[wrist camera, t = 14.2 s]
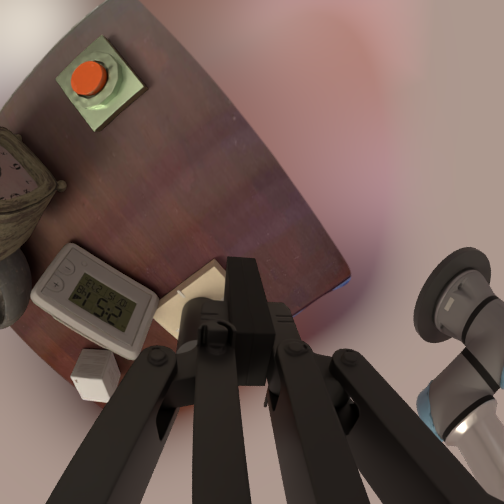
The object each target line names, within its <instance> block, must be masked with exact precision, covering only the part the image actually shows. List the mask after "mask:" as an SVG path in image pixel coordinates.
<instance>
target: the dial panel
mask: <svg viewBox="0 0 504 504" xmlns="http://www.w3.org/2000/svg"><path fill="white" fill-rule="evenodd" d="M225 277H226V271H225V270H224V269H223V268H222V266H221V265H220V264H219V263H218V262H217V261H216V260H215V259H213V260H212V261H210V262H209V263H208V264H206V265H205V266H204V267H202V268H201V269H200V270H198V271H197V272H196V273H194V274H193V275H192V276H190V277H189V278H188V279H186V280H185V281H184V282H183V283H181V284H180V285H179V286H177V287H176V288H175V289H173V290H172V291H171V292H169V293H168V294H167V295H165V296H164V297H163V298H162V299H160V300H159V304H158V306H157V309H156V312H155V314H154V317H153V318H154V319H155V320H156V321H157V322H158V323H159V324H160V325H161V326H163V327H164V328H165V329H166V330H167V331H168V332H169V333H170V334H172V335H173V336H174V337H175V338H176V339H177V340H178V335H179V328H180V321H181V314H182V309H183V306H184V305H185V304H186V303H187V302H188V301H189V300H191V299H193V298H197V297H205V298H209V299H212V300H219V301H224V289H225Z"/></svg>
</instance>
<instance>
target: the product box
mask: <svg viewBox="0 0 504 504" xmlns="http://www.w3.org/2000/svg"><path fill="white" fill-rule="evenodd" d="M71 378H72V380H73V382H74V384H75V386H76V388H77V390H78V391H79V394H80V395H81V397H82V399H83V400H90V401H98V402H108V401H109V399H110V398H111V396H112V395H113V393H114V392H115V390H116V389H117V385H118V382H119V378H120V371H119V368H118V366H117V363H116V360H115V357H114V355H113V352H112V351H111V350H96V349H82V351H81V354H80V356H79V358H78V360H77V363H76V365H75V367H74V370H73V372H72V374H71Z"/></svg>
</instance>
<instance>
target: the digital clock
mask: <svg viewBox="0 0 504 504" xmlns="http://www.w3.org/2000/svg"><path fill="white" fill-rule="evenodd" d="M30 296H31V299H32V301H33V302H34V303H35V304H36V305H37V306H39V307H40V308H41V309H43V310H44V311H46V312H47V313H49V314H50V315H52V316H53V318H54V319H56V320H58V321H59V322H61V323H62V324H64V325H65V326H67V327H69V328H70V329H72V330H73V331H75V332H77V333H78V334H80V335H82V336H83V337H85V338H87V339H89V340H90V341H92V342H94V343H96V344H97V345H99V346H101V347H103V348H105V349H109V350H111V351H112V352H114V353H116V354H118V355H120V356H122V357H124V358H126V359H129V360H135V359H136V358H137V357H138V355H139V354H140V351H141V349H142V346H143V344H144V341H145V338H146V335H147V333H148V330H149V327H150V325H151V322H152V319H153V317H154V314H155V312H156V309H157V306H158V304H159V298H158V296H157V295H156V294H155V293H154V292H153V291H151V290H150V289H148V288H146V287H145V286H143V285H141V284H139V283H138V282H136V281H134V280H133V279H131V278H129V277H128V276H126V275H124V274H123V273H121V272H119V271H118V270H116V269H114V268H113V267H111V266H109V265H108V264H106V263H105V262H103V261H101V260H100V259H98V258H97V257H95V256H93V255H92V254H90V253H89V252H87V251H86V250H84V249H82V248H81V247H79V246H78V245H76V244H74V243H67V244H66V245H65V246H64V247H63V248H62V249H61V251H60V252H59V253H58V254H57V256H56V257H55V258H54V260H53V261H52V262H51V264H50V265H49V266H48V268H47V269H46V271H45V272H44V273H43V275H42V276H41V278H40V279H39V280H38V282H37V283H36V285H35V286H34V288H33V289H32V291H31V294H30Z"/></svg>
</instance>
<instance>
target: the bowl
mask: <svg viewBox="0 0 504 504" xmlns="http://www.w3.org/2000/svg"><path fill="white" fill-rule="evenodd" d="M31 289H32V279H31V272H30V268H29V265H28V262H27V260H26V258H25V256H24V254H23V252H22V251H21V249H20V248H18V249H17V250H16V251H15V252H14V253H13V254H11V255H9V256H8V257H6V258H5V259H3V260H2V261H0V329H4V328H6V327H8V326H11V325H12V324H14V323H15V322H16V321H17V320H18V319H19V318H20V317H21V316H22V315H23V313H24V311H25V310H26V308H27V305H28V302H29V299H30V294H31Z"/></svg>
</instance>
